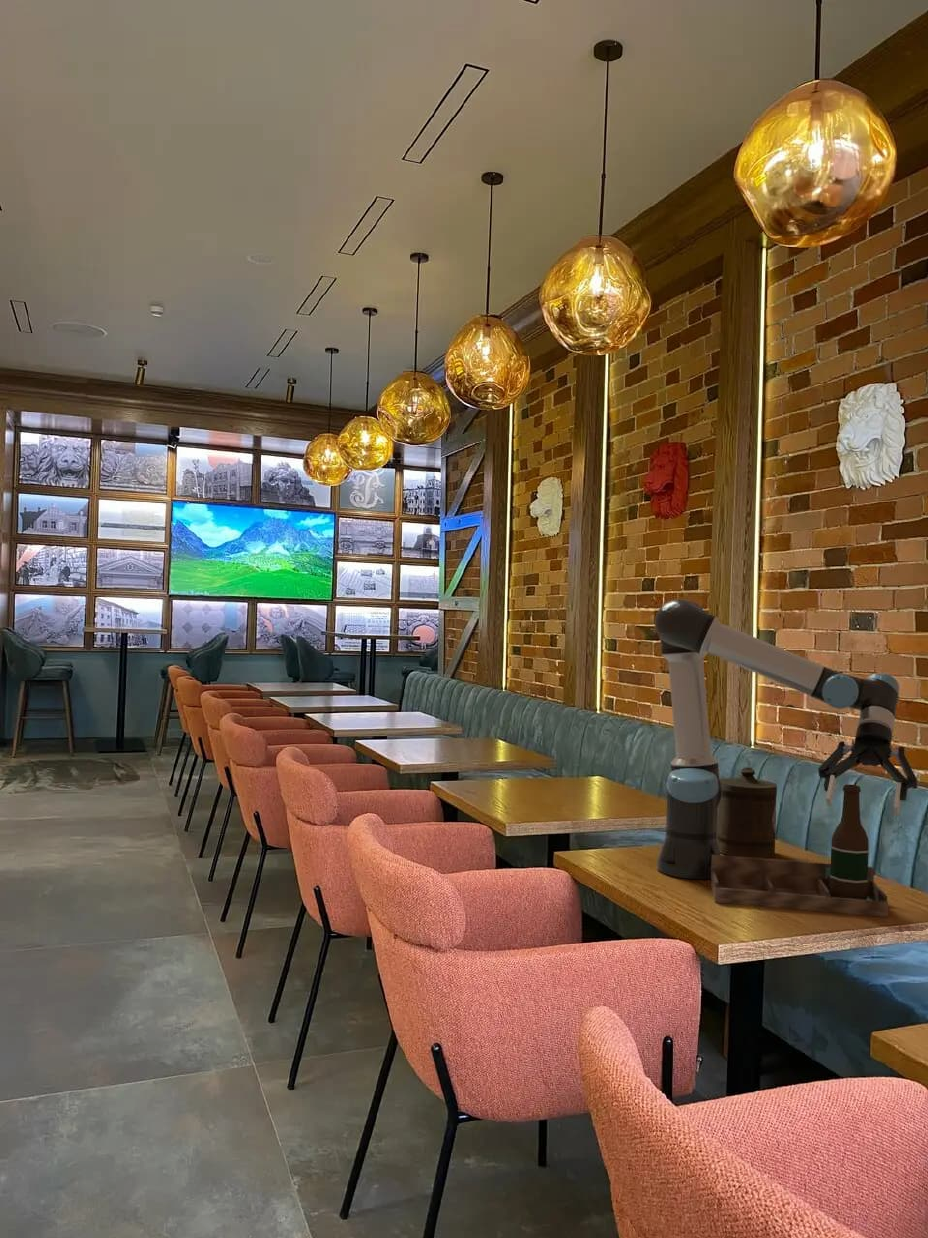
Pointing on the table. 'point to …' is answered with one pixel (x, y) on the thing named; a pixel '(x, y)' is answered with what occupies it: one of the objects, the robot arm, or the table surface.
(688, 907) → the table surface
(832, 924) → the table surface
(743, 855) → the wooden container
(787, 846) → the table surface
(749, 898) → the condiment rack
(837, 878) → the beer bottle
